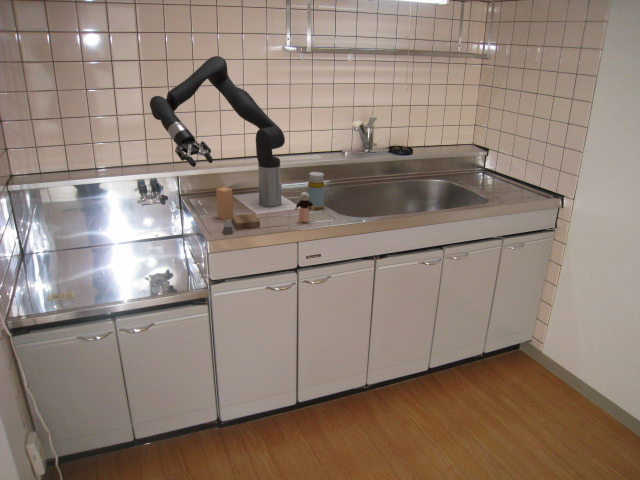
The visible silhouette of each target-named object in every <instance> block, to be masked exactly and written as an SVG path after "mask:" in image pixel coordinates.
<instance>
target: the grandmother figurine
mask: <svg viewBox="0 0 640 480" xmlns="http://www.w3.org/2000/svg"><path fill="white" fill-rule="evenodd" d="M300 198H301V200H299V202H298V203H297V204H296V205H295V208H294V211H298V209H299V211H298V221H297V224H300V225H301V224H303V223H304V224H309V214H310V213H309V209H310V208H309V207H308V206H311V208H312V209H311V210H315V209H314V207H313V204H312V203H311V202H310V201H308V198H309V194H308V192H306V191H303V192H302V193H301V194H300Z"/></svg>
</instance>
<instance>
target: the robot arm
mask: <svg viewBox="0 0 640 480" xmlns="http://www.w3.org/2000/svg"><path fill="white" fill-rule="evenodd" d="M228 73H229V72H228V65H227V61H226V59H225V58H224V57H222V56H218V55H216V56H215V55H214V56H211V57H210V58H208V59H207V60H205V62H204V63H202V64H201V65H200V66H199V67H198V68H197V69H196V70H195V71H194V72H193V73H192V74H191V75H189V77H187V78H186V79H184V81H182V82H181V83H179V84H178V85H176V86H174V87H173V88H172V89H170V90H169V91H167V94H166V98H164V97H163V96H161V95H154V96H152V97H151V98H150V100H149V107H150V111H151V114H152V116H153V118H154V119H155V120H157V121H158V120H159V121H160V123H161V125H162V126H163V128H164V129H165V130H166V132H167V134H168V135H169V136H170V138H171V139H172V140H173V142H174V144H175V145H176V147H175V148H174V152H175V154H177V156H178V158H179V159H180V160H181V161H186V162H188V164H189V165H190V166H191V167H192V168H195V167H196V166H197V162H196V161H195V160H194V158H193V157H192V156H193V155H198V156H202V157H204V158H205V159H206V161H207V162H208V163H209V164H212V163H213V162H214V158H213V157H212V155H211V152H212V149H211V148H210V147H209V146H208V145H207V144H206V142H205V141H203V140H202V141H201V142H199V143H198V142H197V140H196V138H195V136H194V135H193V134H192V132H191V131H190V130H189V129H188V127H187V126H186V125H185V124H184V123H183V122H182V121H181V120H180V119H179V117H178V116H177V115H176V113H175V111H177V109H178V108H179V107H180V106H181V105H182V104H183V103H185V102H187V101H188V100H190V99H191V98H192V97H194V95H195V93H196V92H198V90H199V89H200V88H201V86H202V84H204V83H205V81H207V80H208V81H209V83H210V84H211V85H212V86H214V87H215V89H217V91H218V92H220V93H221V95H222V96H223V97H224V99H225V100H226V101H227V102H228V104H229V105H230V106H231V108H232V109H233V110H234V112H235V113H236V114H237V115H238V117H240V118H241V119H243V120H244V121H246V122H248V123H250V124H252V125H254V126H255V127H256V128H258V130H257V132H256V135H255V148H256V149H255V152H256V159H257V162H258V205H260V206H262V207H268V208H269V207H270V208H271V207H272V208H273V207H277V206H280V205H281V206H282V191H283V190H282V188H283V187H282V185H283V184H282V183H281V159H280V157H277V156H274V155H273V150H276V149H280V148H282V147H283V146H284V145H285V142H286V141H285V139H286V138H285V133H284V132H283V130H282V129H281V128H280V126H279V125H278V124H276V123H275V122H274V121H273V120H272V119H271V118H270V117H269V116H268V115H267V113H265V112H264V110H263V109H262V108H261V107H260V106H259V105H258V104H257V102H256V101H255V100H254V99H253V97H252V96H251V94H250V93H248V92H247V91H246V90H245V89H243V88H240V87H239V86H237V85H235V83H233V81H232V79H231V78H230V76H229V74H228Z"/></svg>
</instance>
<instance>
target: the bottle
mask: <svg viewBox="0 0 640 480" xmlns="http://www.w3.org/2000/svg"><path fill="white" fill-rule="evenodd" d="M308 176H309V177H308V183H307V193H308V194H309V198H308V199H307V200H308V201H310V202H311V203H312V204H313V207H314V209H312V208H311V206H308V208H309V209H311V210H314V211H315V210H322V209H323V208H324V204H325V203H324V202H325V182H324V178H325V174H324V172H320V171H310V172H309V173H308Z"/></svg>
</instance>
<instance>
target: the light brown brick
mask: <svg viewBox="0 0 640 480" xmlns="http://www.w3.org/2000/svg"><path fill="white" fill-rule="evenodd" d="M215 189H216V211H217V212H216V213H217V218H218V219H221V220H223V221H227V220H230V219H232V216H234V208H233V207H234V204H233V188H229V187H226V186H223V187H220V188H215Z"/></svg>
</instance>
